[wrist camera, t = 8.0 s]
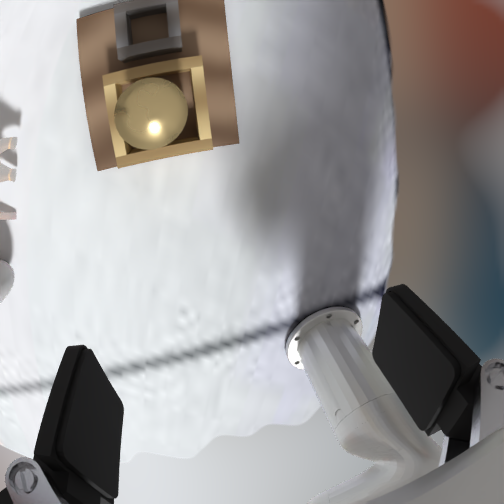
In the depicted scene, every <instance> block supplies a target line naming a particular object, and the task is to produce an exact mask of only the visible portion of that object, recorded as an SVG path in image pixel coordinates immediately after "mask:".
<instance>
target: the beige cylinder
mask: <svg viewBox="0 0 504 504" xmlns="http://www.w3.org/2000/svg"><path fill="white" fill-rule="evenodd" d="M187 116H188V106H187V101H186V99H185V96H184V94H183V93H182V91H181V90H180V89H179V88H178V87H177V86H176V85H175V84H174V83H172V82H170V81H168V80H166V79H162V78H145V79H141V80H139V81H136V82H135V83H133V84H131V85H130V86H129V87H128V88H126V89H125V90H124V92H123V93H122V94H121V96H120V97H119V99H118V101H117V103H116V106H115V111H114V121H115V126H116V129H117V131H118V133H119V135H120V136H121V137H122V138H123V139H124V140H125V141H126V142H127V143H128V144H130V145H131V146H133V147H136V148H139V149H145V150H152V149H158V148H161V147H164V146H166V145H168V144H169V143H171V142H172V141H174V140H175V139H176V138H177V137H178V136H179V134H180V133H181V132H182V130H183V128H184V126H185V124H186V121H187Z"/></svg>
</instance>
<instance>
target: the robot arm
mask: <svg viewBox="0 0 504 504" xmlns="http://www.w3.org/2000/svg"><path fill="white" fill-rule="evenodd" d="M362 329H363V325H362V321H361V319H360V317H359V316H358V315H357V313H356V312H355V311H353V310H352V309H349V308H347V307H340V306H339V307H330V308H326V309H323V310H320V311H318V312H316V313H314V314H312V315H310V316H308V317H307V318H306V319H304V320H303V321H302V322H301V323H299V324H298V325H297V326H296V327H295V329H294V330H293V331H292V332H291V334H290V336H289V337H288V340H287V343H286V349H285V350H286V355H287V357H288V360H289V361H290V363H291V364H292V365H293V366H295V367H296V368H299V369H302V370H305V372H306V374H307V376H308V378H309V381H310V383H311V385H312V387H313V389H314V391H315V393H316V396H317V398H318V400H319V402H320V404H321V406H322V408H323V410H324V413H325V415H326V417H327V419H328V421H329V423H330V425H331V428H332V430H333V432H334V434H335V436H336V438H337V441H338V442H339V444H340V445H341V447H342V448H343V449H344V450H346V451H347V452H348V453H350V454H352V455H355V456H357V457H360V458H363V459H367V460H371V461H373V462H374V464H373V466H371V467H370V468H368V469H367V470H365V471H363V472H362V473H360V474H359V475H357V476H355V477H353V478H351V479H349V480H347V481H345V482H343V483H340V484H338V485H336V486H334V487H332V488H330V489H328V490H326V491H324V492H322V493H320V494H318V495H316V496H314V497H313V498H312V499H311V500H310V501H309V502H308V503H307V504H504V360H501V359H491V360H488V361H487V362H485V363H484V364H483V366H481V365H480V364H479V362H480V360H481V359H480V358H479V357H478V356H477V355H476V354H475V353H474V352H473V351H472V350H471V349H470V348H469V347H468V346H467V345H466V344H465V343H464V342H463V341H462V339H461V338H460V337H458V335H457V334H456V333H455V332H454V331H453V330H452V329H451V328H450V327H449V326H448V325H447V324H446V323H445V322H444V321H442V319H441V318H440V317H439V316H438V315H437V314H436V313H435V312H434V311H433V310H432V309H430V308H429V307H428V306H427V305H426V304H425V303H424V302H423V301H422V300H421V299H420V298H419V297H418V296H417V295H416V294H415V293H414V292H413V291H411V290H410V289H409V288H408V287H407V286H406V285H404V284H401V285H397V286H394V287H390V288H388V289H387V290H386V293H385V294H384V295H383V297H382V302H381V309H380V315H379V320H378V326H377V331H376V337H375V342H374V347H373V352H371V351H370V349H369V348H368V347H367V345H366V344H365V342H364V341H363V339H362V338H361V334H362ZM123 415H124V407H123V404H122V401H121V400H120V398H119V396H118V395H117V393H116V391H115V390H114V388H113V387H112V385H111V383H110V381H109V380H108V378H107V376H106V375H105V373H104V371H103V369H102V368H101V366H100V364H99V362H98V360H97V358H96V357H95V355H94V353H93V351H92V350H91V349H87V347H86V346H85V345H76V346H68V347H67V348H66V350H65V353H64V355H63V358H62V361H61V363H60V366H59V369H58V372H57V375H56V378H55V380H54V383H53V386H52V389H51V393H50V396H49V399H48V402H47V405H46V409H45V412H44V415H43V419H42V422H41V426H40V430H39V433H38V437H37V441H36V445H35V450H34V458H33V459H31V458H27V457H22V458H18V459H16V460H14V461H13V462H12V463H11V464H10V465H9V467H8V468H7V472H6V475H5V483H6V488H5V489H3V490H2V491H1V492H0V504H114V498H117V496H118V484H119V464H120V448H121V436H122V425H123ZM439 430H442V431H443V433H444V441H443V447H442V449H441V447H440V446H439V445H438V444H437V443H436V442H435V441H434V440H433V439H432V438H431V437H430V435H432V434H434V433H436V432H437V431H439Z"/></svg>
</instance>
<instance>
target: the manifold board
mask: <svg viewBox="0 0 504 504" xmlns="http://www.w3.org/2000/svg"><path fill="white" fill-rule="evenodd" d="M77 37H78V50H79V61H80V71H81V79H82V87H83V95H84V102H85V108H86V114H87V120H88V126H89V132H90V137H91V142H92V147H93V152H94V157H95V161H96V166H97V170H98V171H101V170H105V169H109V168H113V167H118V168H122V167H126V166H130V165H135V164H139V163H144V162H148V161H153V160H158V159H163V158H168V157H173V156H178V155H184V154H189V153H195V152H201V151H207V150H213V147H218V146H225V145H231V144H239V136H238V127H237V117H236V108H235V99H234V89H233V80H232V71H231V61H230V52H229V43H228V33H227V24H226V15H225V5H224V0H131V1H127V2H123V3H119V4H115V5H114V8H112V9H108V10H105V11H101V12H98V13H94V14H91V15H88V16H85V17H82V18H79V19H77ZM145 78H162V79H166V80H168V81H170V82H172V83H174V84H175V85H176V86H177V87H178V88H179V89H180V90H181V91H182V93H183V94H184V96H185V99H186V101H187V106H188V116H187V121H186V124H185V126H184V128H183V130H182V132H181V133H180V134H179V136H178V137H177V138H176V139H175V140H174V141H172V142H171V143H169V144H168V145H166V146H164V147H161V148H158V149H152V150H145V149H139V148H136V147H133V146H131V145H130V144H128V143H127V142H126V141H125V140H124V139H123V138H122V137H121V136H120V135H119V133H118V131H117V129H116V126H115V121H114V111H115V106H116V103H117V101H118V99H119V97H120V96H121V94H122V93H123V92H124V90H125V89H126V88H128V87H129V86H130V85H131V84H133V83H135V82H136V81H139V80H141V79H145Z"/></svg>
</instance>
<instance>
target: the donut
mask: <svg viewBox="0 0 504 504" xmlns="http://www.w3.org/2000/svg"><path fill="white" fill-rule="evenodd" d="M13 283H14V271H13V269H12V267H11V266H10V265H9V264H8V263H7V262H6V261H3V260H0V303H1V302H2V301H3V300H4V299H5V298H6V296H7V295H8V294H9V292H10V290H11V288H12V286H13Z"/></svg>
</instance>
